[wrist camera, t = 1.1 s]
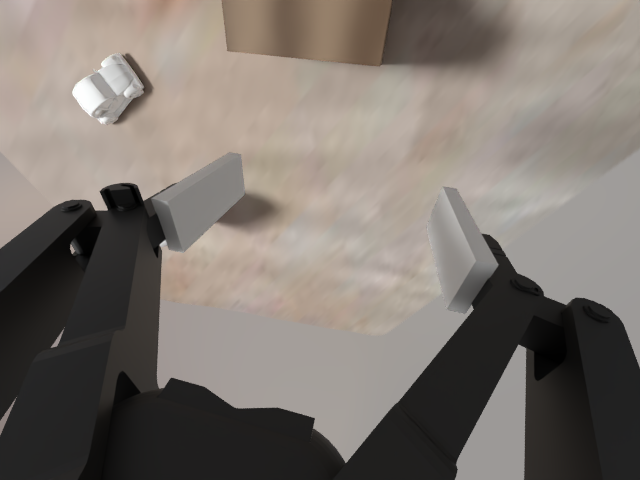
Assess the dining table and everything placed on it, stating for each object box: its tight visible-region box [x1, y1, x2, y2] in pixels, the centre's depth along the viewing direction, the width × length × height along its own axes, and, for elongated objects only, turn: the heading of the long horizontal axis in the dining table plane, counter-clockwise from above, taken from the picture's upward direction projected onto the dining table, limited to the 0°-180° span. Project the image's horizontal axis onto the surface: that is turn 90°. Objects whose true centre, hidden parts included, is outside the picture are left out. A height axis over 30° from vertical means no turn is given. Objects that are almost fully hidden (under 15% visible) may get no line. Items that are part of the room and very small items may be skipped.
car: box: [72, 53, 145, 125], centre depth 38 cm, size 12×6×5 cm, turn 117°
